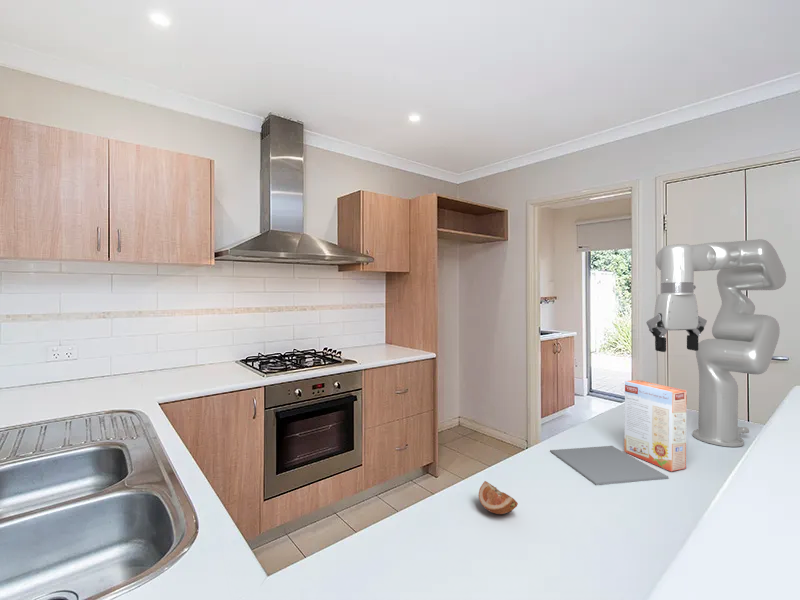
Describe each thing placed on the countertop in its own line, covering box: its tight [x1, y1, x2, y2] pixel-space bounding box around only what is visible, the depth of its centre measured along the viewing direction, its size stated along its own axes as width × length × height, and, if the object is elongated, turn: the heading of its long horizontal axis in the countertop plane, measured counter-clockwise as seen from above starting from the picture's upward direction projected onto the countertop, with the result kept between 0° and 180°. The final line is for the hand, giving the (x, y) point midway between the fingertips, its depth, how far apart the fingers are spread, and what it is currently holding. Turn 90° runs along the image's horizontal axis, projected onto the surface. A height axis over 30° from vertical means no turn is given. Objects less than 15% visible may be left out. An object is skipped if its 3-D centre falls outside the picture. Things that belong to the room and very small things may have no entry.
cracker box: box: [623, 379, 688, 473], centre depth 108 cm, size 14×6×21 cm, turn 20°
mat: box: [549, 445, 669, 486], centre depth 106 cm, size 20×20×1 cm
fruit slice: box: [478, 480, 519, 515], centre depth 82 cm, size 8×7×5 cm
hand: (676, 350), depth 110 cm, fingers open, 9 cm apart
